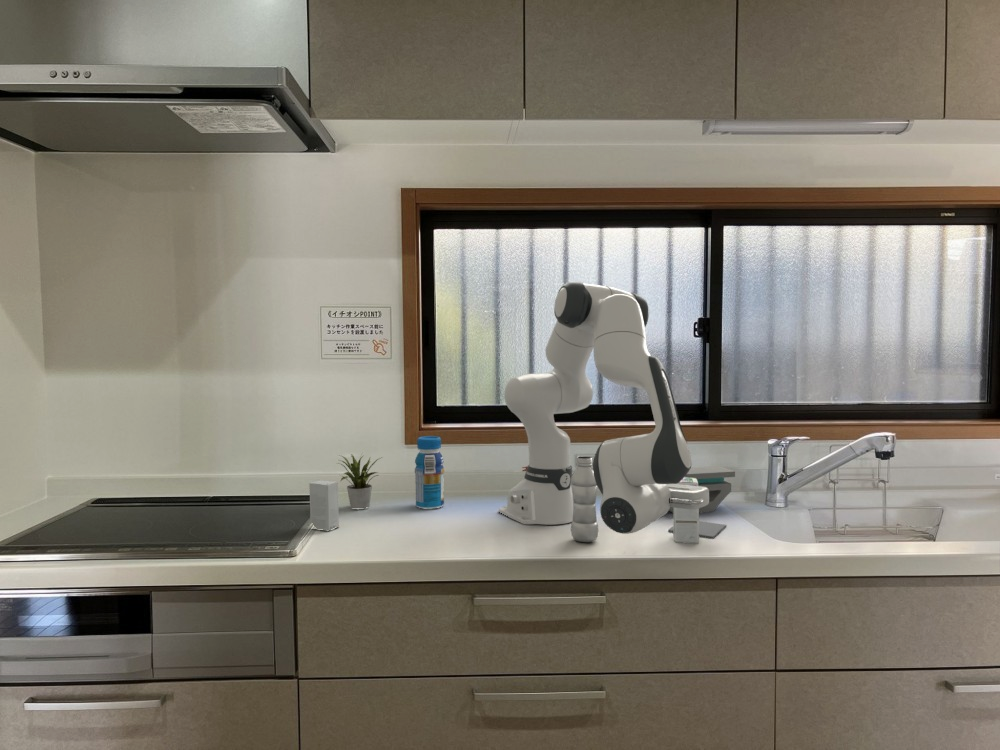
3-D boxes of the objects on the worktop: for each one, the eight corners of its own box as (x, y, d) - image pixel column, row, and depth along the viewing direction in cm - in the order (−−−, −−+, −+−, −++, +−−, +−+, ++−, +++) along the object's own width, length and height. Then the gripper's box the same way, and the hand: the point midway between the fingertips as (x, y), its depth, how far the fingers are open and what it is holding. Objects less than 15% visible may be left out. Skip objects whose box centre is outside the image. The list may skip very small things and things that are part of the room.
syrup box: (699, 543, 156) (700, 482, 156) (673, 542, 158) (673, 481, 157) (697, 536, 162) (697, 477, 161) (672, 535, 163) (672, 476, 162)
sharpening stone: (652, 516, 181) (652, 476, 181) (639, 508, 189) (639, 470, 188) (734, 510, 187) (735, 471, 186) (719, 503, 195) (719, 466, 194)
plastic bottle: (581, 546, 155) (581, 461, 154) (565, 539, 161) (565, 456, 160) (604, 542, 158) (604, 458, 156) (587, 535, 164) (587, 454, 162)
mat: (713, 538, 160) (713, 536, 160) (668, 531, 166) (668, 529, 166) (726, 526, 170) (726, 524, 170) (683, 520, 176) (683, 518, 176)
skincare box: (339, 527, 172) (338, 481, 171) (328, 532, 168) (327, 485, 167) (320, 525, 174) (319, 479, 174) (309, 529, 171) (308, 482, 170)
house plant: (319, 511, 189) (318, 453, 188) (348, 500, 201) (347, 446, 200) (362, 516, 183) (361, 456, 182) (389, 504, 196) (388, 449, 195)
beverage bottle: (409, 507, 192) (408, 438, 191) (427, 501, 199) (426, 434, 198) (432, 511, 187) (431, 440, 186) (450, 505, 194) (449, 436, 193)
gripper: (698, 488, 131) (717, 476, 143) (602, 478, 142) (627, 468, 154) (699, 520, 131) (718, 505, 143) (602, 508, 143) (627, 495, 154)
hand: (670, 486), depth 149 cm, fingers closed
